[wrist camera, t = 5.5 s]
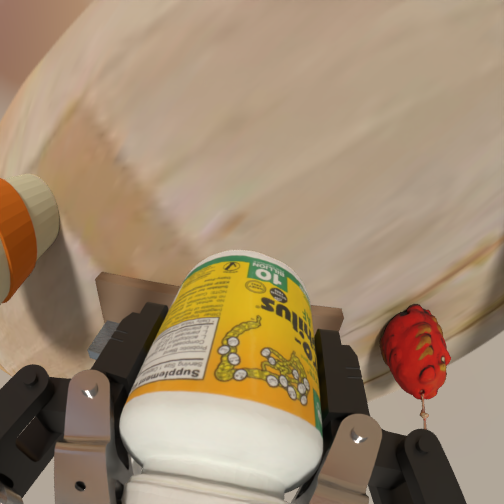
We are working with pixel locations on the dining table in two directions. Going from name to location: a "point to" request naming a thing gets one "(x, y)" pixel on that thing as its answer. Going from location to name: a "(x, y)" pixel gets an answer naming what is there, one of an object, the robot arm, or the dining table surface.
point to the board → (141, 291)
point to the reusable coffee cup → (24, 228)
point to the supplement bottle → (227, 390)
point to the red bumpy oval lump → (416, 353)
